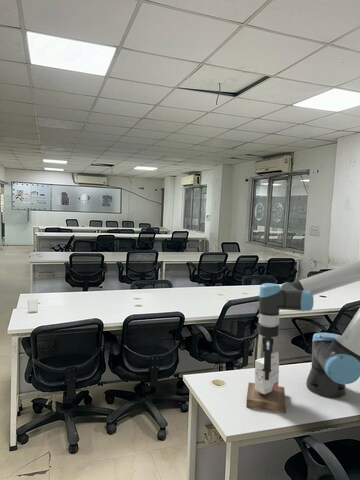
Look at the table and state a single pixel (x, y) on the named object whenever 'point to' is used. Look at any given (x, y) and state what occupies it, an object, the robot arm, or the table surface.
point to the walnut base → (266, 399)
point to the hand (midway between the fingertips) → (266, 381)
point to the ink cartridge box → (274, 374)
